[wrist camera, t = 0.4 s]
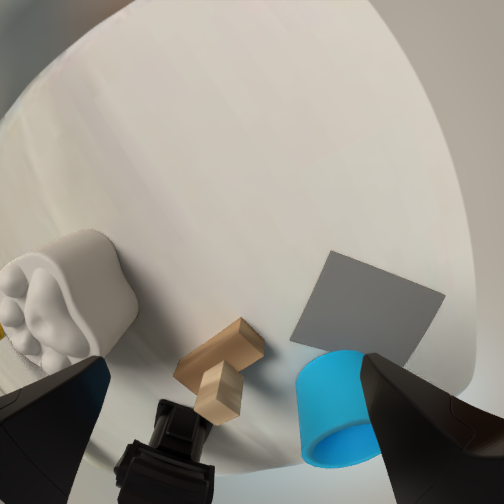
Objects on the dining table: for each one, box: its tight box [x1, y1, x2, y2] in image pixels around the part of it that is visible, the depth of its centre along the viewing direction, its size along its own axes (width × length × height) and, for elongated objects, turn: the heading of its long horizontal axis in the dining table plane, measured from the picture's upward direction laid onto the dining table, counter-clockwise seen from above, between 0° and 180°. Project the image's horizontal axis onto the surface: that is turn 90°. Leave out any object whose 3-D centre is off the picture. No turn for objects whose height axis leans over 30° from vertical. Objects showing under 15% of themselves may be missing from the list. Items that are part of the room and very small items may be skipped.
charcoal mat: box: [290, 251, 445, 367], centre depth 22 cm, size 8×13×1 cm, turn 71°
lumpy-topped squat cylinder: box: [0, 229, 139, 375], centre depth 19 cm, size 10×13×9 cm
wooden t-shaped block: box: [173, 317, 264, 426], centre depth 21 cm, size 4×8×7 cm, turn 131°
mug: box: [296, 350, 381, 468], centre depth 21 cm, size 12×8×8 cm
